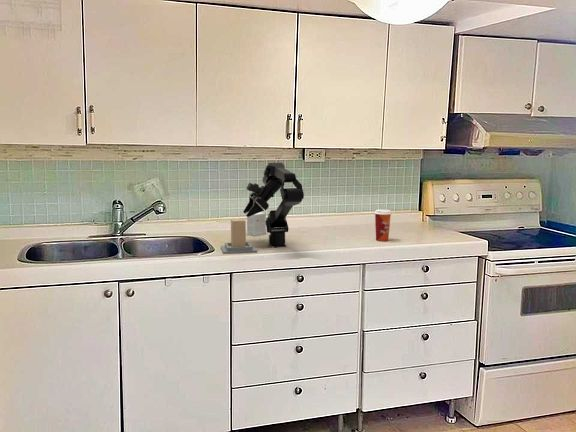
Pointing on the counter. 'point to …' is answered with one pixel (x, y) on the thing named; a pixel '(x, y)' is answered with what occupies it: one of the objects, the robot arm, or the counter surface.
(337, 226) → the counter surface
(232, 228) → the carton
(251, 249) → the tray
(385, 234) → the paper cup
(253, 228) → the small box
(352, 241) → the counter surface
